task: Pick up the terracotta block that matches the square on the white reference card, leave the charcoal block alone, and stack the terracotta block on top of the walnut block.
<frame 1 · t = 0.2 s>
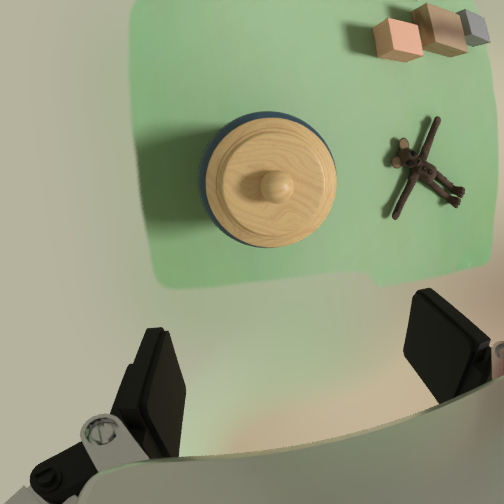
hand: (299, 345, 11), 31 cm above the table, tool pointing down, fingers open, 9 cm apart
brown spindly figurine: (424, 173, 41), on the table
walnut block: (430, 34, 32), on the table
terracotta block: (389, 45, 33), on the table
canister: (257, 171, 39), on the table
charcoal block: (461, 31, 32), on the table
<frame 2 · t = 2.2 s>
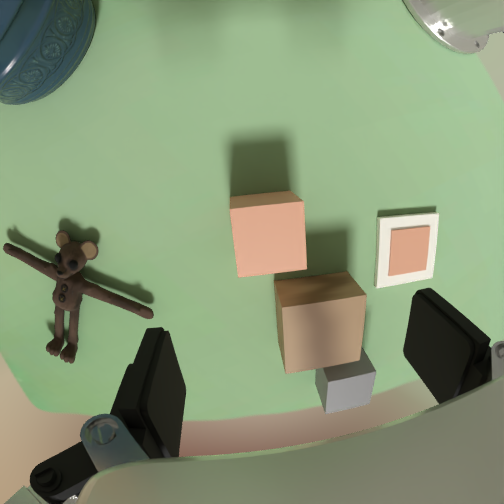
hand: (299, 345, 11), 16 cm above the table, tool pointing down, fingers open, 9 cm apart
brown spindly figurine: (73, 293, 28), on the table
walnut block: (311, 307, 29), on the table
terracotta block: (263, 222, 26), on the table
canister: (43, 44, 18), on the table
reference card: (406, 248, 27), on the table
charcoal block: (337, 363, 32), on the table
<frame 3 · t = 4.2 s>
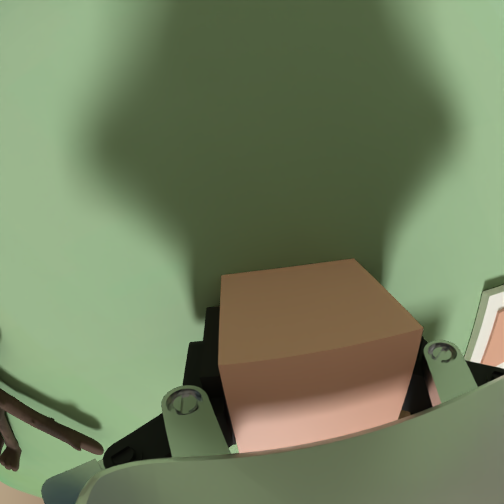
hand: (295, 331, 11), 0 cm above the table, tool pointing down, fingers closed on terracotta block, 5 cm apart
terracotta block: (292, 324, 12), on the table, touching gripper
reference card: (503, 329, 14), on the table
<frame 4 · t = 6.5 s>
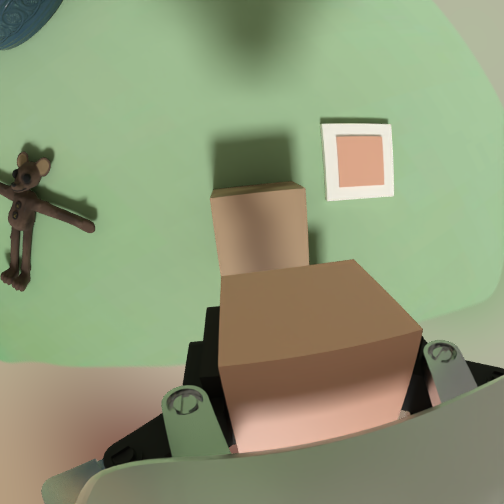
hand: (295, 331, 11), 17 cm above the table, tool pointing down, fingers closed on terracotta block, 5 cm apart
brown spindly figurine: (29, 219, 26), on the table
walnut block: (256, 222, 28), on the table
terracotta block: (292, 325, 12), point 17 cm above the table, touching gripper
canister: (26, 4, 17), on the table
reference card: (358, 160, 26), on the table
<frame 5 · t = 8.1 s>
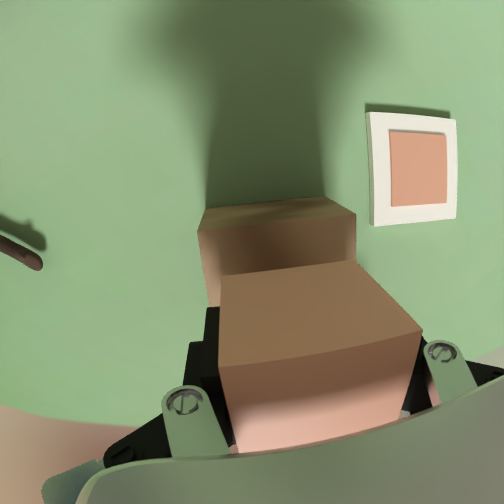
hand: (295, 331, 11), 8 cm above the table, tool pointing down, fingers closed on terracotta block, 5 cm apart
walnut block: (270, 257, 19), on the table
terracotta block: (292, 325, 12), point 7 cm above the table, touching gripper
reference card: (414, 168, 17), on the table
when the fingers open (7 cm above the table, at t = 9.1 s): terracotta block drops 2 cm, resting on walnut block.
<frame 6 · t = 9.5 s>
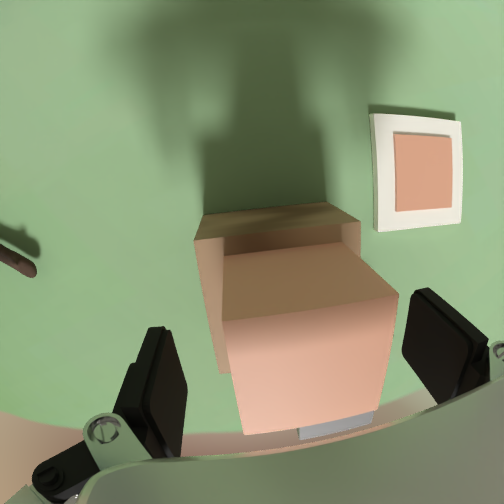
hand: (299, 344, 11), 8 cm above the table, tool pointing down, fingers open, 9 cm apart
walnut block: (271, 265, 18), on the table, touching terracotta block
terracotta block: (287, 302, 13), point 5 cm above the table, touching walnut block
reference card: (419, 171, 17), on the table
charcoal block: (319, 361, 21), on the table
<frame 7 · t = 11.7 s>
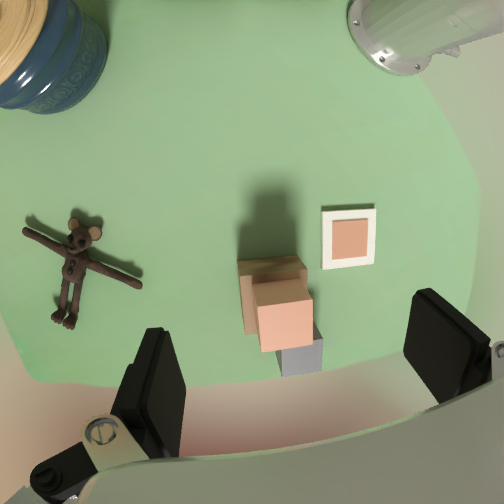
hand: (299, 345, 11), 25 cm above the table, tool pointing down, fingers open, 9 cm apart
brown spindly figurine: (78, 270, 34), on the table
walnut block: (268, 284, 37), on the table, touching terracotta block
terracotta block: (277, 302, 32), point 5 cm above the table, touching walnut block
canister: (63, 66, 26), on the table
reference card: (348, 237, 36), on the table
charcoal block: (293, 336, 39), on the table
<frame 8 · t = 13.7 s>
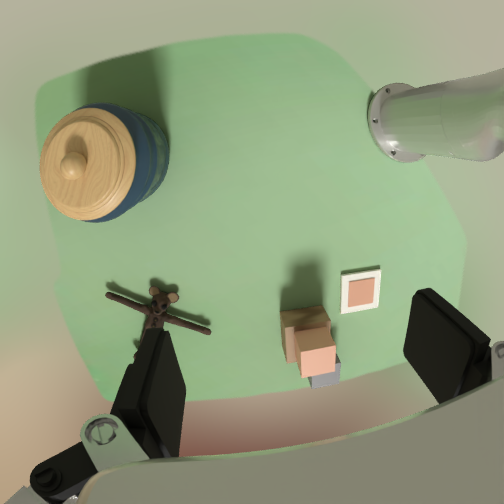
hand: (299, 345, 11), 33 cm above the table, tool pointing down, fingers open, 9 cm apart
brown spindly figurine: (155, 321, 48), on the table
walnut block: (301, 325, 50), on the table
terracotta block: (310, 342, 45), point 5 cm above the table
canister: (127, 158, 39), on the table
reference card: (359, 290, 48), on the table
charcoal block: (318, 358, 52), on the table
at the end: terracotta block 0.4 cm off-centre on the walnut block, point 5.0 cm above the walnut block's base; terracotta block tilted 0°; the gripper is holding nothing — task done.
